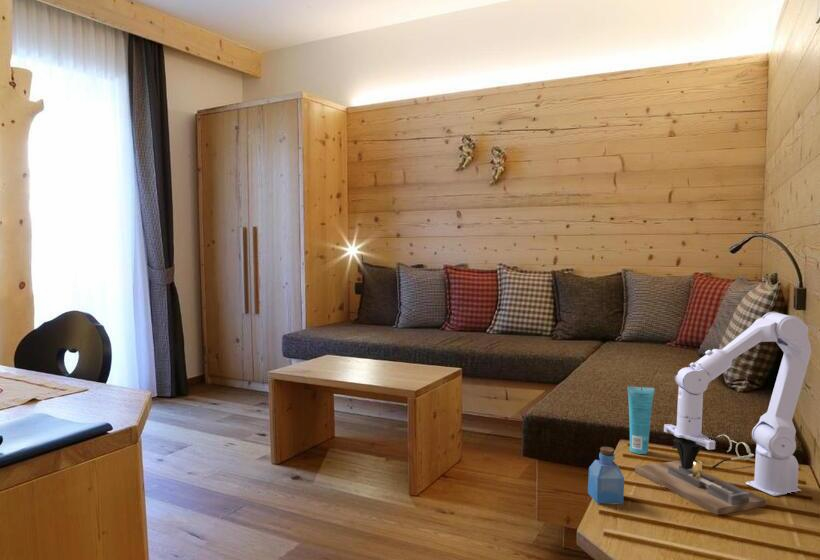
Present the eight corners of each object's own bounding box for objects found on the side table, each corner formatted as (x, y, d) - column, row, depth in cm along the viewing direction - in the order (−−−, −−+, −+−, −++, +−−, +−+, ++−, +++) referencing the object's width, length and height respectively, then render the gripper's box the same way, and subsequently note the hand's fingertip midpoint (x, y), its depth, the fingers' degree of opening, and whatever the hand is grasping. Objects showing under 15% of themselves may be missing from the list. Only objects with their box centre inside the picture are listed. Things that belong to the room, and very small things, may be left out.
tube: (648, 449, 172) (651, 385, 171) (654, 455, 167) (657, 389, 166) (623, 448, 173) (625, 384, 172) (627, 454, 168) (630, 388, 167)
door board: (679, 465, 159) (679, 453, 159) (765, 506, 135) (766, 491, 135) (635, 472, 154) (635, 459, 154) (716, 515, 130) (717, 499, 130)
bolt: (693, 478, 147) (694, 458, 146) (734, 497, 135) (735, 476, 135) (687, 479, 146) (688, 459, 146) (727, 498, 135) (728, 477, 134)
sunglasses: (758, 466, 161) (759, 448, 161) (712, 470, 158) (713, 452, 158) (712, 445, 178) (713, 429, 178) (670, 448, 174) (670, 432, 174)
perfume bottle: (613, 492, 141) (615, 444, 140) (623, 504, 135) (625, 453, 134) (587, 492, 141) (589, 444, 140) (596, 504, 134) (598, 453, 134)
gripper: (655, 409, 152) (653, 459, 153) (700, 425, 138) (698, 480, 139) (676, 406, 154) (674, 456, 155) (722, 422, 141) (720, 477, 142)
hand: (686, 468), depth 147 cm, fingers closed
